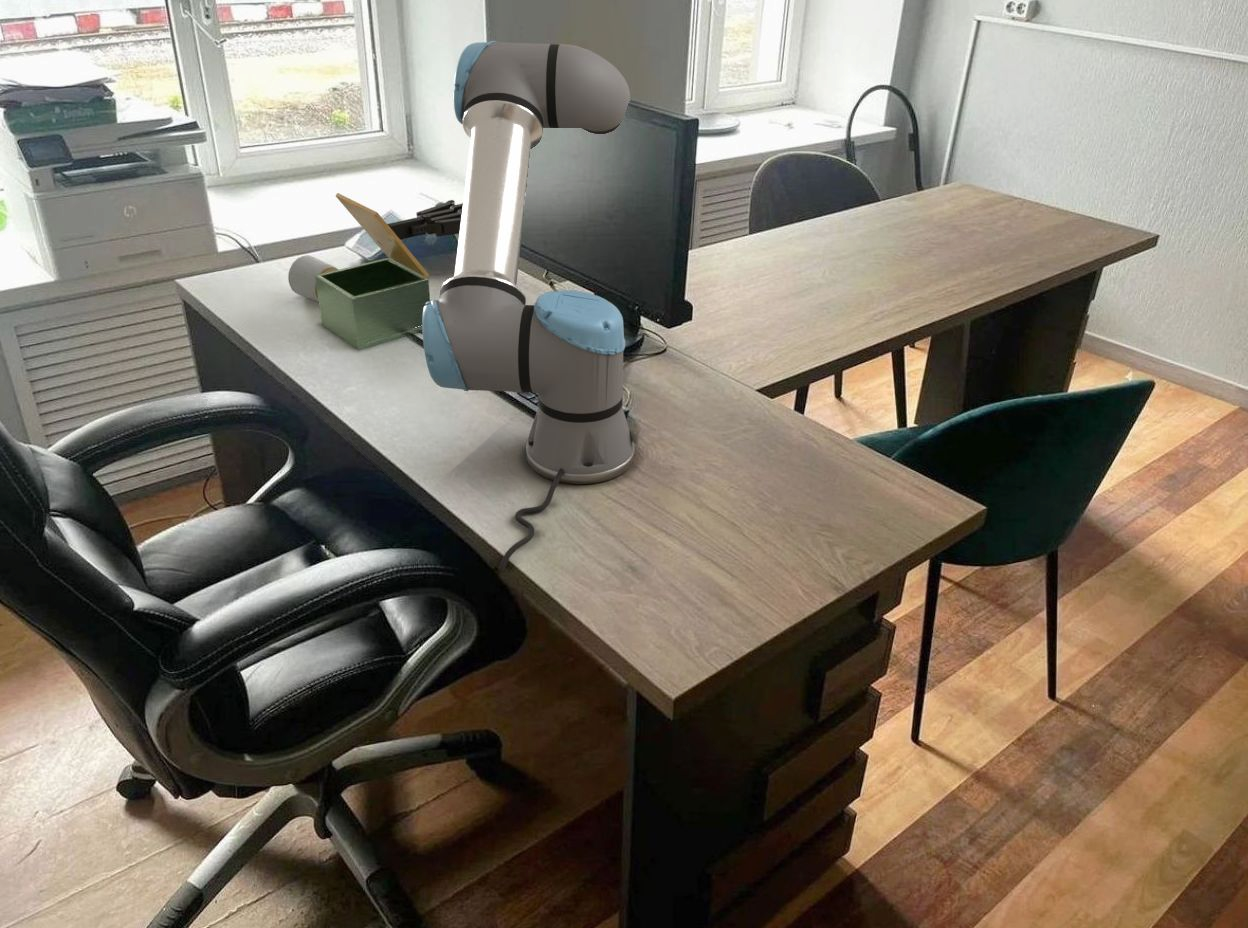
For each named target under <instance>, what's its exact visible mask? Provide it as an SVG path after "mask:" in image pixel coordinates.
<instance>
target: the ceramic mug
mask: <svg viewBox="0 0 1248 928" xmlns="http://www.w3.org/2000/svg"><path fill="white" fill-rule="evenodd" d="M335 270H340V269H339V268H337V266H336V267H335V266H334V265H332V264H330V263H328V262H325V261H323V260H321V259H319V258H317V257H315V256H313V255H308V254H306V255H301V256H299V257H297V258H296V259H295V260H294V261H293V262H292V264H291V265H290V268H289V270H288V276H287V277H288V278H287V279H288V284H289V287H290V289H291V290H292V291H293V292H294V293H295V294H297V295H299V296H301V297H304V298H307V299H310V300H312V301H315V302H317V303H319V301H318V294H317V287H316V281H315V275H319V274H323V273H327V272H331V271H335Z"/></svg>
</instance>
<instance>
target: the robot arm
mask: <svg viewBox="0 0 1248 928" xmlns="http://www.w3.org/2000/svg"><path fill="white" fill-rule="evenodd" d="M453 79H454V80H453V85H454V89H453V95H452V96H453V97H452V98H453V110H454V115H455V118H456V120H457V121H458V122H459V123H460V125H462V127H463V130H464V133H465V134H466V136H467V138H469V140H470V146H469V153H468V161H467V170H466V178H465V184H464V185H465V186H464V193H463V201H462V203H459V204H458V203H457V204H456V203H455V202H456V201H455V200H454V199H449V200H447V201H446V202H444V203H441V204H438V205H434V206H432V207H429V208H426V209H423V210H420V211H417V212H416V214H415V215H416V217H412V218H407V219H403V220H398V221H395V222H390V223H387V225H388V226H389V227H390V228H391V229H392V231H393V232H394V233H395V234H396V235H397V237H398V238H399V239H400V240H401V241H402V240H404V239H409V238H414V237H418V236H423V235H426V234H428V235H434V234H435V236H436V237H444V236H453V235H459V236H458V242H457V249H456V258H455V266H454V274H453V276H452V277H450V278H449V279H447V280H446V281H444V282H443V283H442V284H441V287H440V288H441V289H440V293H439V300H436V299H432V300H430V301H428V302H426V304H425V307H424V309H423V315H422V344H423V352H424V357H425V362H426V367H427V370H428V373H429V376H430V377H431V380H433V382H434V384H436V385H437V386H438V387H440V388H445V389H454V390H463V391H464V392H469V391H481V392H482V391H483V392H509V393H511V392H512V393H533V394H537V410H536V413H535V416H534V419H533V422H532V425H531V428H530V431H529V434H528V436H527V437H528V438H527V440H526V447H525V448H526V449H525V451H526V461H527V463H528V465H529V467H530V468H531V469H532V470H533V471H534V472H535V473H537V474H538V475H540V476H542V477H544V478H546V479H549V480H552V482H551V484H550V487H549V489H548V492H547V495H546V498H545V500H544V501H543V502H542V503H541V504H540V505H537V506H532V507H525V508H521V509H519V510H517V511H516V512H515V515H514V519H515V521H516V522H517V523H518V524H520V525H521V526H523V527H524V528H526V529H527V530H528V533H527V534H526V536H525V537H523V538H521V539H520V540H519V541H517V542H515V543H514V544H512V546H511V547H510V548H508V550H506V552H505V553H504V555H503V557H502V558H501V561H500V563H499V567H498V572H500V573H501V572H504V571H505V570H506V568H507V564H508V563H509V560H510V558H511V556H513V554H514V553H515V552H516V551H517V550H518V549H520V548H521V547H523V546H524V545H526V544H527V543H529V542H530V541H531V540H532V539H533V538H534V535H535V527H534V525H532V523H531V522H529V521H527V520H526V519H524V518H523V517H521V516H522V515H527V514H536V513H540V512H542V511H544V510H545V509H547V508H548V506H549V505H550V504H551V502H552V500H553V497H554V493H555V491H556V489H557V487H558V485H559V483H564V484H570V485H571V484H572V485H586V484H589V485H590V484H596V483H601V482H606V481H609V480H612V479H614V478H617V477H619V476H620V475H623V474H624V473H625V472H626V471H628V470H629V469H630V468H631V466H632V465H633V463H634V459H635V445H636V446H638V442H639V441H638V440H639V439H638V438H639V436H638V435H637V434H636V433H634V432H633V431H632V430H630V428H629V424H628V420H627V418H626V414H625V412H624V407H623V403H624V402H623V399H624V398H623V397H624V395H623V394H624V351H625V349H626V339H625V333H624V329H625V328H624V317H623V315H622V313H621V311H620V310H619V308H618V307H617V306H616V305H614V303H612V302H610V301H608V300H607V299H605V298H603V297H601V296H599V295H597V294H593V293H589V292H585V291H580V290H572V289H559V290H557V291H552V290H551V291H547V292H544V293H542V294H540V295H539V296H538V297H537V298H536V300H535V302H534V305H532V304H527V303H526V302H527V298H526V297H527V296H526V294H525V293H524V291H522V289H521V288H520V287H519V286H518V284H517V283H518V274H519V273H518V272H519V263H520V252H521V246H522V245H521V244H522V236H523V235H522V234H523V227H524V226H523V225H524V224H523V216H524V206H525V197H526V187H527V177H528V168H529V158H530V149H532V148H533V147H535V146H536V145H537V144H538V143H539V142H540V140H541V138H542V134H543V128H582V129H584V130H586V131H588V132H590V133H594V134H606V133H609V132H612V131H614V130H615V129H616V128H617V127H618V126H619V125H620V123H621V122H622V120H623V118H624V116H625V112H626V109H627V106H628V103H630V102H629V101H631V102H632V98H631V90H630V88H629V87H630V86H629V85H628V82H627V81H626V79H625V77H624V76H623V74H622V73H621V72H620V71H619V69H618V68H616V67H615V66H614V64H612V63H610V62H609V61H608V60H607V59H605V58H603V57H602V55H599V54H597V53H596V52H593V51H591V50H590V49H586V48H583V47H581V46H578V45H573V44H566V43H559V44H554V43H533V42H532V43H531V42H530V43H529V42H503V41H502V42H501V41H497V40H491V41H483V42H481V41H479V42H473V43H470V44H468V45H467V46H466V47H464V49H463V51H462V52H461V54H460V56H459V58H458V61H457V64H456V68H455V73H454V78H453Z"/></svg>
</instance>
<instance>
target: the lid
mask: <svg viewBox="0 0 1248 928" xmlns="http://www.w3.org/2000/svg"><path fill="white" fill-rule="evenodd" d="M335 198H337V199H338V201H339V202H340V203H341V204H342V206H343V207H344V208H345V210H347V211H348V213H349V214H350V215H351V216H352V217H353V219H354V220H355V221H356V222H357V223H358V224H359V226H360V227H361V228H362V229H363V230H364V232H365V233H367V235H368V236H369V237H370V238H371V239H372V240H373V242H374V244H375V245H377V246H378V247H379V248H380V250H381V251H382V252H383V253H384V254H385V256H386V258H390V259H392V260H394V261H396V262H398V263H399V264H401V265H403V266H405V267H407V268H409V269H411V270H412V271H414V272H416V273H418V274H420V275H422V276H423V277H425V278H427V279H428V277H429V276H430V274H429V273H428V271H427V270H426V269H425V268H424V267H423V266H422V264H421V263H420V262H419V260H418V259H417V258H416V257H415V256H414V255H413V253H412V252H411V251H410V250H409V248H408V247H407V246H406V245H405V244H404V243H403V241H402V239H401V240H400V239H399V238H398V237H397V235H396V234H395V233H394V232H393V231H392V229H391V228H390V227H389V226H388V225H387V224H388V223H387V222H386V221H385V219H383V217H382V216H381V215H380V213H378V212H377V211H376V210H374V209H371V208H370V207H368V206H366V205H363V204H361V203H359V202H358V201H355V200H353V199H351V198H349V197H347V196H345V195H343V194H341V193H339V192H337V193H336V194H335Z"/></svg>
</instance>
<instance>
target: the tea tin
mask: <svg viewBox="0 0 1248 928" xmlns="http://www.w3.org/2000/svg"><path fill="white" fill-rule="evenodd" d="M315 281H316V287H317V294H318V301H319V302H318V306H319V307H318V308H319V314H320V320H321V326H323V327H325V329H328V330H329V331H331V332H332V333H334V334H335V335H336V336H338V337H339V338H341V339H342V340H343V341H345V342H346V343H348V344H350V345H351V346H352V347H354V348H355V349H357V350H358V351H360V350H363V349H366V348H369V347H372V346H376V345H380V344H383V343H387V342H391V341H394V340H398V339H401V338H404V337H407V336H410V335H414V334H417V333H421V332H422V326H421V325H422V315H423V309H424V307H425V304H426V302H428V301H431V296H430V293H431V292H430V281H429V278H428V277H427V278H426V277H424V276H422V275H420V274H419V273H417V272H415V271H413V270H411V269H409V268H407V267H406V266H404V265H402V264H400V263H398V262H396V261H395V260H393V259H391V258H389V257H386V258H381V259H377V260H373V261H369V262H365V263H360V264H357V265H352V266H348V267H344V268H340V269H339V270H335V271H331V272H327V273H323V274H319V275H315ZM418 326H421V327H418ZM415 327H417V328H415ZM413 328H414V329H413ZM422 333H423V332H422Z"/></svg>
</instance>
